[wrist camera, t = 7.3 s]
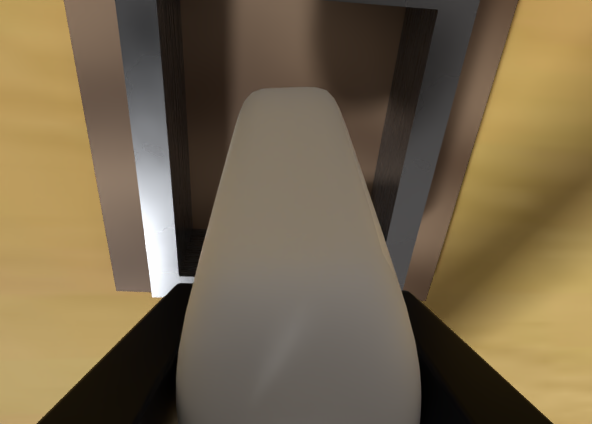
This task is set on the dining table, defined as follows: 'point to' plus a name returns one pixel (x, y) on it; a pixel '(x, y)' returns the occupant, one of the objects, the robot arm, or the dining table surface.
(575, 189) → the dining table surface
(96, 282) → the dining table surface
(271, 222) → the eye dropper bottle
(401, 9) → the socket board
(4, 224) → the dining table surface
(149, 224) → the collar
